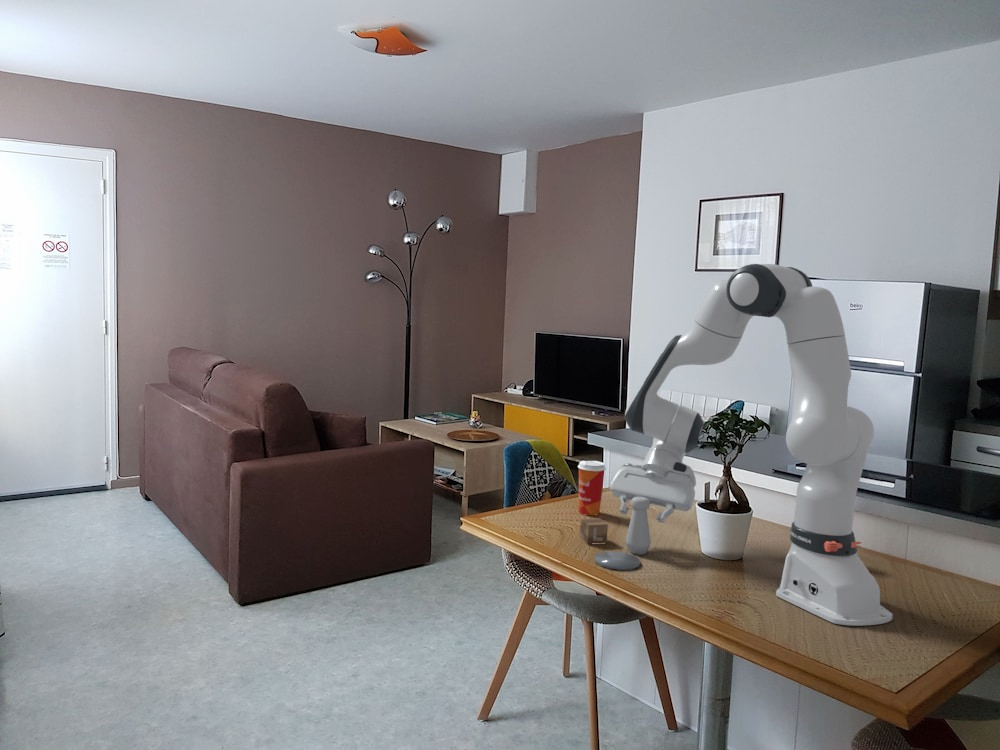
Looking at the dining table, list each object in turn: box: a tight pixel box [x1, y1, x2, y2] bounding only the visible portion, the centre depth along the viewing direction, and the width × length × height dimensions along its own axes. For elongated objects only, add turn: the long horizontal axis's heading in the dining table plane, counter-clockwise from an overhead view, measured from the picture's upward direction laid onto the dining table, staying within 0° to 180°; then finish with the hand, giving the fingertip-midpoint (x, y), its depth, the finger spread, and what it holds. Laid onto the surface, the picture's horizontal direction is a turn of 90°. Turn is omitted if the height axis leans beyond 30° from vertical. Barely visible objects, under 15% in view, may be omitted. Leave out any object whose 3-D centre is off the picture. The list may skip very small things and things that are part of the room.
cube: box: [579, 517, 609, 545], centre depth 186 cm, size 5×5×5 cm
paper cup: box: [577, 460, 607, 516], centre depth 210 cm, size 8×8×14 cm
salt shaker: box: [625, 497, 652, 556], centre depth 179 cm, size 6×6×13 cm
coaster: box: [594, 551, 641, 571], centre depth 172 cm, size 10×10×1 cm
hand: (641, 516), depth 180 cm, fingers open, 8 cm apart
